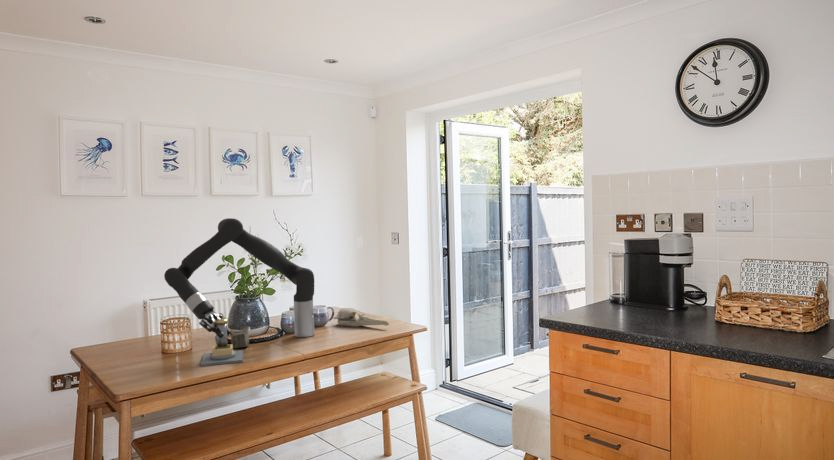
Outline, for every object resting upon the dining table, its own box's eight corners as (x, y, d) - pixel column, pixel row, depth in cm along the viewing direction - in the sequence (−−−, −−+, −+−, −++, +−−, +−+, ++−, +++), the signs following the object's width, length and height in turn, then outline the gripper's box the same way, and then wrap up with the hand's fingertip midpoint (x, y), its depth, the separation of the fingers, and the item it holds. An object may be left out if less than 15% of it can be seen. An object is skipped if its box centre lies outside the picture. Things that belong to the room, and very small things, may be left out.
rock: (224, 333, 252) (245, 325, 256) (229, 346, 253) (250, 338, 257) (230, 339, 237) (252, 331, 241) (235, 353, 238) (257, 345, 242)
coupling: (229, 344, 228) (228, 317, 227) (228, 347, 223) (227, 320, 222) (215, 345, 226) (215, 318, 226) (215, 348, 221) (214, 321, 221)
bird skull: (385, 326, 268) (383, 306, 269) (334, 328, 284) (332, 310, 284) (394, 323, 276) (392, 304, 276) (344, 325, 291) (341, 307, 292)
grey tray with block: (243, 352, 235) (243, 340, 234) (242, 362, 219) (242, 350, 219) (204, 355, 230) (203, 344, 230) (200, 366, 215) (200, 354, 214)
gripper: (194, 302, 218) (221, 333, 216) (215, 296, 232) (240, 325, 230) (183, 315, 220) (210, 345, 218) (204, 308, 234) (230, 337, 231)
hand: (225, 335), depth 224 cm, fingers closed on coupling, 4 cm apart
